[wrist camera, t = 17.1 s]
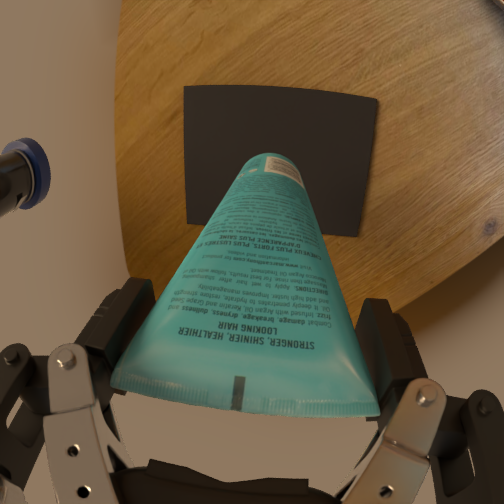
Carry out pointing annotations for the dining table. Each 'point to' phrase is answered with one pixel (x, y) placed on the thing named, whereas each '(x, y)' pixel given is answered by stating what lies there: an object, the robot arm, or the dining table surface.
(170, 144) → the dining table surface
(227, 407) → the tube
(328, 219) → the mat
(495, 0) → the ramen bowl
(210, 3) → the dining table surface
